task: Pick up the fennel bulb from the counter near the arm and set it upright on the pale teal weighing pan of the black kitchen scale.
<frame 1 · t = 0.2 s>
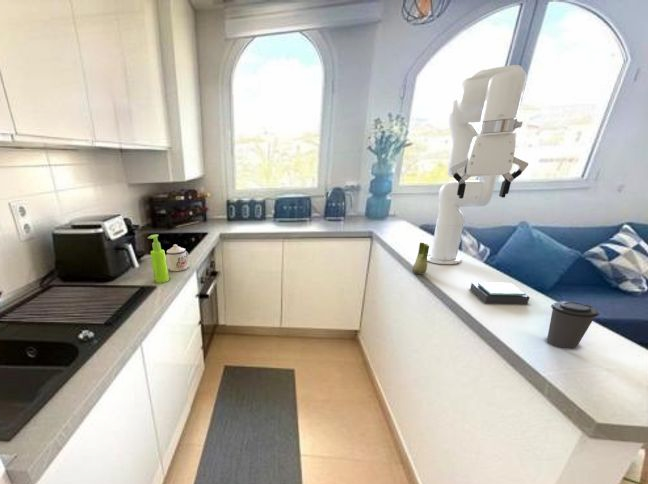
hand: (480, 197, 96), 31 cm above the table, tool pointing down, fingers open, 9 cm apart
scale: (496, 296, 109), on the table
fennel bulb: (418, 274, 134), on the table
scale pan: (500, 288, 107), point 3 cm above the table, slide at 0.1 cm
teacup with lid: (180, 268, 166), on the table
coffee cup: (561, 343, 82), on the table
soap dispenser: (161, 281, 150), on the table
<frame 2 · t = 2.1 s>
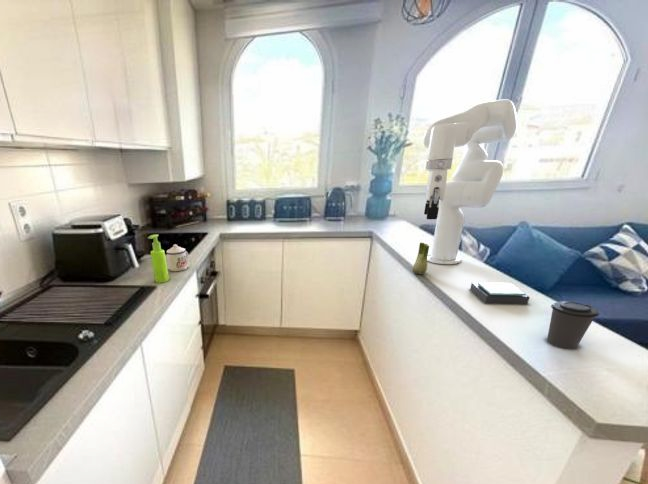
hand: (430, 216, 123), 22 cm above the table, tool pointing down, fingers open, 9 cm apart
nothing on the table moved.
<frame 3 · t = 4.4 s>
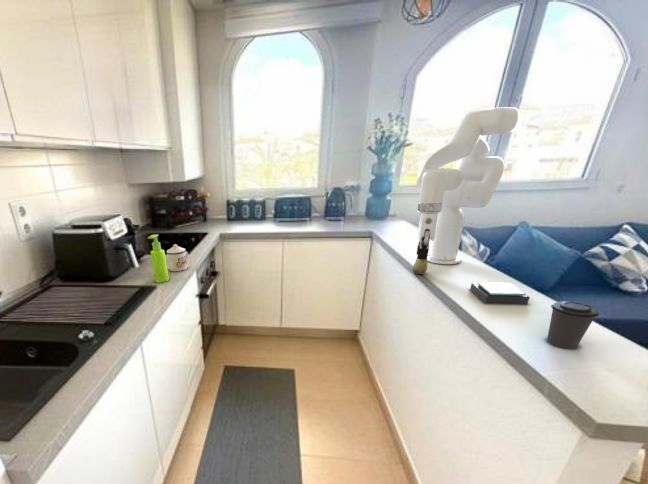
hand: (421, 256, 131), 7 cm above the table, tool pointing down, fingers closed on fennel bulb, 5 cm apart
fennel bulb: (418, 274, 134), on the table, touching gripper
everything else where it was.
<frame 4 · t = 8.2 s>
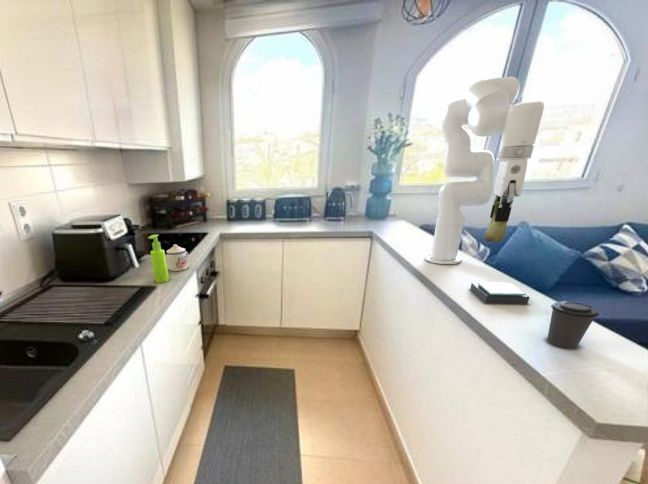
hand: (498, 219, 103), 24 cm above the table, tool pointing down, fingers closed on fennel bulb, 5 cm apart
fennel bulb: (492, 242, 106), point 17 cm above the table, touching gripper
everything else where it was.
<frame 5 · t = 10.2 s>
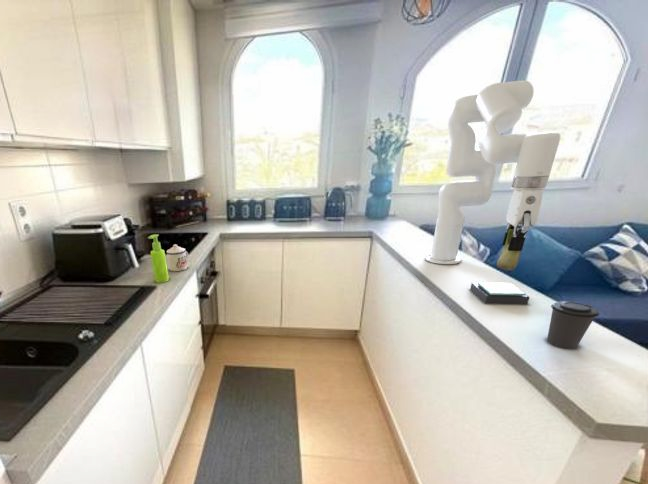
hand: (511, 247, 102), 16 cm above the table, tool pointing down, fingers closed on fennel bulb, 5 cm apart
fennel bulb: (505, 270, 104), point 9 cm above the table, touching gripper
everything else where it was.
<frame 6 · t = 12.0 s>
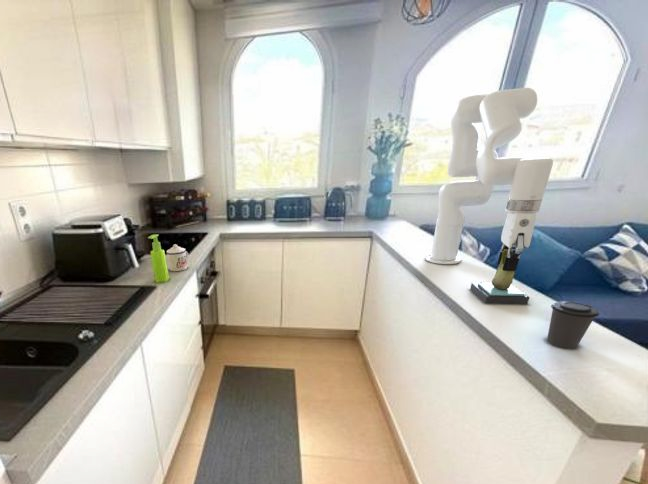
hand: (506, 266, 104), 10 cm above the table, tool pointing down, fingers closed on fennel bulb, 5 cm apart
fennel bulb: (500, 288, 107), point 3 cm above the table, touching gripper, scale pan
scale pan: (500, 289, 107), point 3 cm above the table, slide at -0.1 cm, touching fennel bulb
everything else where it was.
when the fingers open (10 cm above the table, at t = 12.1 s): fennel bulb stays where it is, resting on scale pan.
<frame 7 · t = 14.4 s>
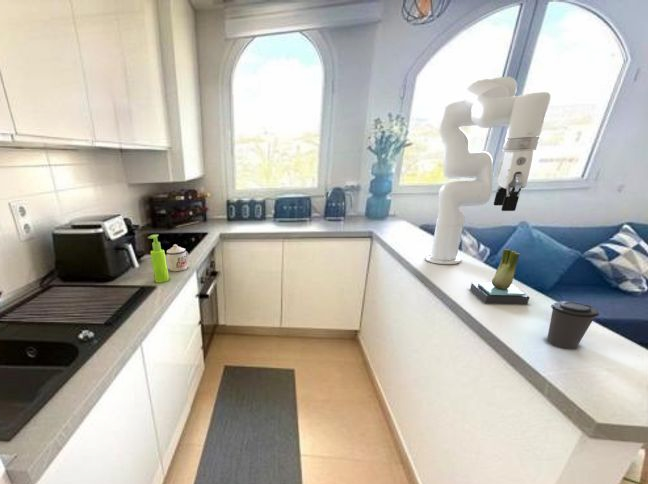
hand: (503, 207, 104), 27 cm above the table, tool pointing down, fingers open, 9 cm apart
fennel bulb: (500, 288, 107), point 3 cm above the table, touching scale pan
everything else where it was.
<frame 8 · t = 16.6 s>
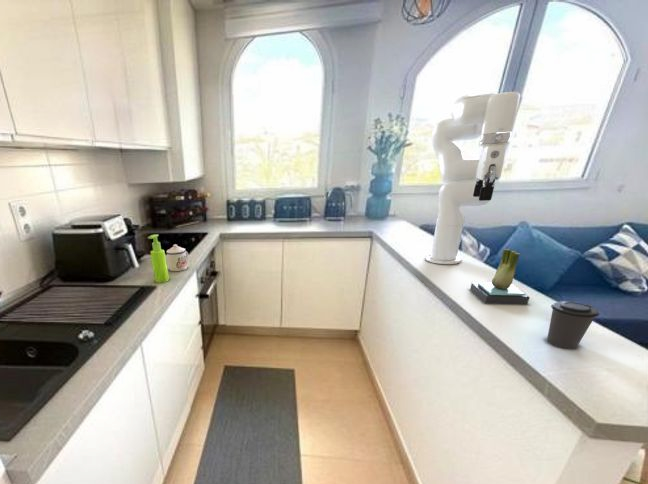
hand: (481, 198, 112), 28 cm above the table, tool pointing down, fingers open, 9 cm apart
nothing on the table moved.
at the end: fennel bulb inside the target area on the scale (0.2 cm from its centre), point 3.1 cm above the scale's base; fennel bulb tilted 0°; the gripper is holding nothing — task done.
